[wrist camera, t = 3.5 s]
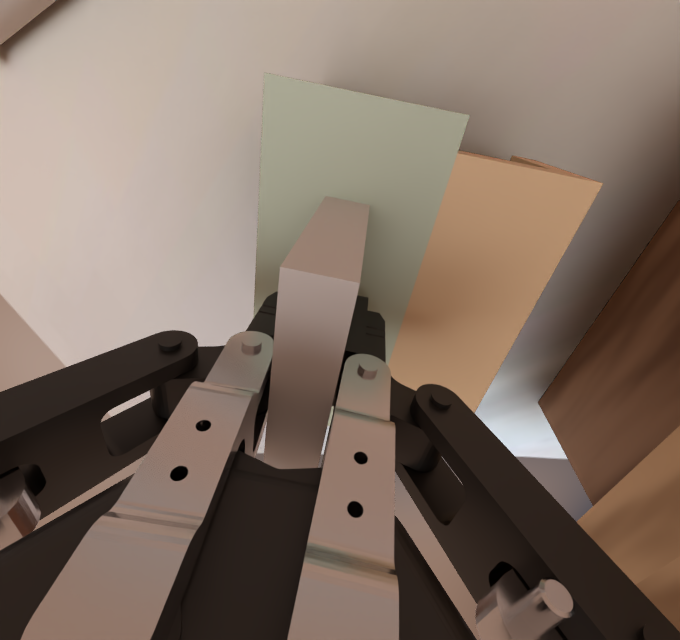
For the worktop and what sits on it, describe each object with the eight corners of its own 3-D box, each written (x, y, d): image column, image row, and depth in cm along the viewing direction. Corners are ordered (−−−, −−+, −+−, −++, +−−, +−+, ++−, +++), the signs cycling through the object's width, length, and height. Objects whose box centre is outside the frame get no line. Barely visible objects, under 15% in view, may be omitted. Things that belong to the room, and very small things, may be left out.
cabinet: (511, 129, 18) (885, 189, 5) (429, 338, 26) (482, 593, 12) (319, 89, 18) (135, 32, 5) (293, 310, 26) (194, 535, 12)
